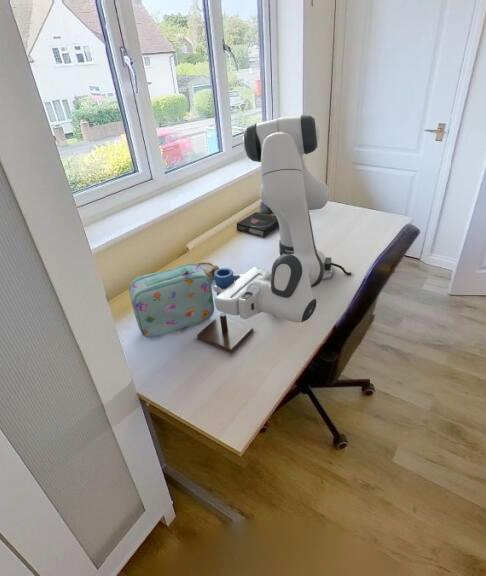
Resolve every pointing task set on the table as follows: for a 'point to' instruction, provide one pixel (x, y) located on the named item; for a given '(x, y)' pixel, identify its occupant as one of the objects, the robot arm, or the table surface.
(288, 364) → the table surface
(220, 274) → the blue faceted hollow tube
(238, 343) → the platform
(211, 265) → the alarm clock
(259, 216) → the portable cd player
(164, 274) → the lunch box
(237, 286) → the robot arm
